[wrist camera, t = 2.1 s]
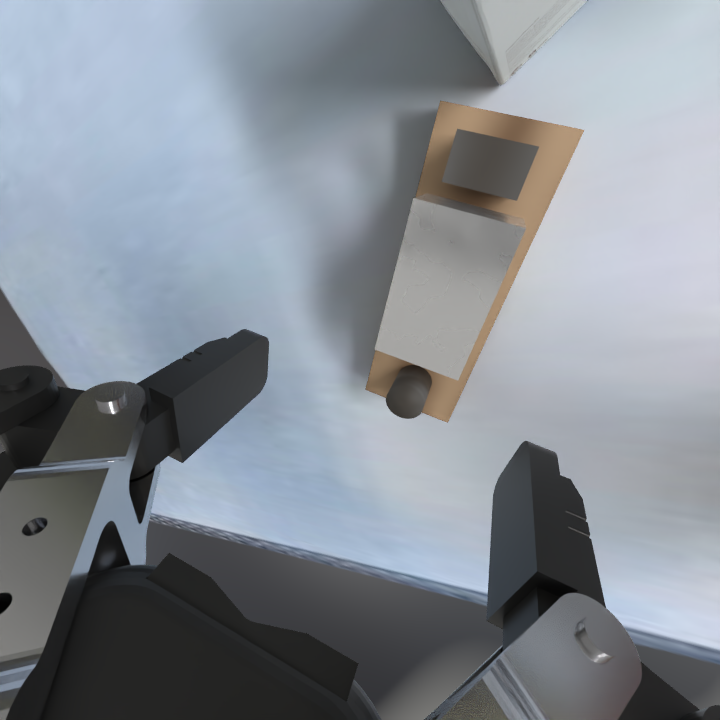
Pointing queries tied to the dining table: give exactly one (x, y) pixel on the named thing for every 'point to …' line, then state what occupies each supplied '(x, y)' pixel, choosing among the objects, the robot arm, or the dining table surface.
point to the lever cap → (446, 281)
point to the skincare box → (509, 28)
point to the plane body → (487, 190)
